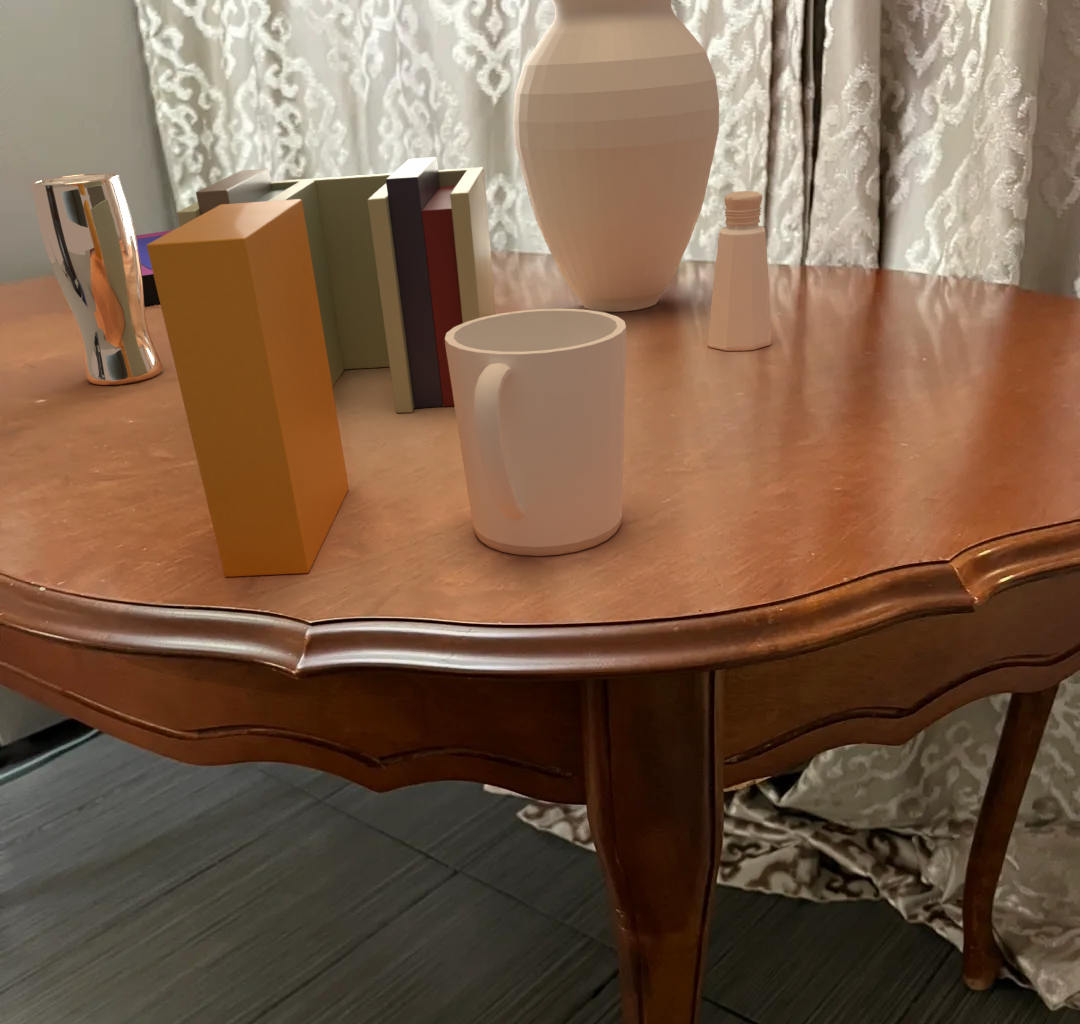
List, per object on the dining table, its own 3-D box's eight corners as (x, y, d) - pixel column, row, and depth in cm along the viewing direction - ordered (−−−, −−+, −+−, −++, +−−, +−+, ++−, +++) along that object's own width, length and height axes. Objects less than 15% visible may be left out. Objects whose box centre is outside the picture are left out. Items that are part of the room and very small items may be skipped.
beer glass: (110, 364, 97) (59, 174, 89) (183, 363, 96) (138, 170, 88) (66, 387, 91) (8, 186, 83) (142, 387, 90) (91, 182, 82)
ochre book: (224, 577, 57) (145, 244, 49) (277, 492, 67) (219, 204, 59) (308, 573, 57) (244, 238, 48) (349, 488, 67) (301, 198, 59)
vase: (493, 321, 101) (465, -5, 88) (572, 280, 115) (558, -9, 101) (678, 330, 94) (678, -24, 81) (740, 285, 108) (749, -25, 94)
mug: (506, 489, 65) (490, 306, 60) (652, 502, 62) (650, 310, 57) (418, 566, 57) (391, 362, 51) (582, 586, 54) (571, 370, 48)
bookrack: (222, 423, 80) (172, 195, 72) (268, 370, 92) (229, 169, 84) (487, 408, 79) (467, 175, 71) (499, 356, 91) (482, 151, 83)
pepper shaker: (720, 332, 93) (723, 187, 87) (782, 336, 90) (790, 187, 85) (694, 349, 89) (695, 198, 83) (759, 353, 87) (765, 199, 81)
